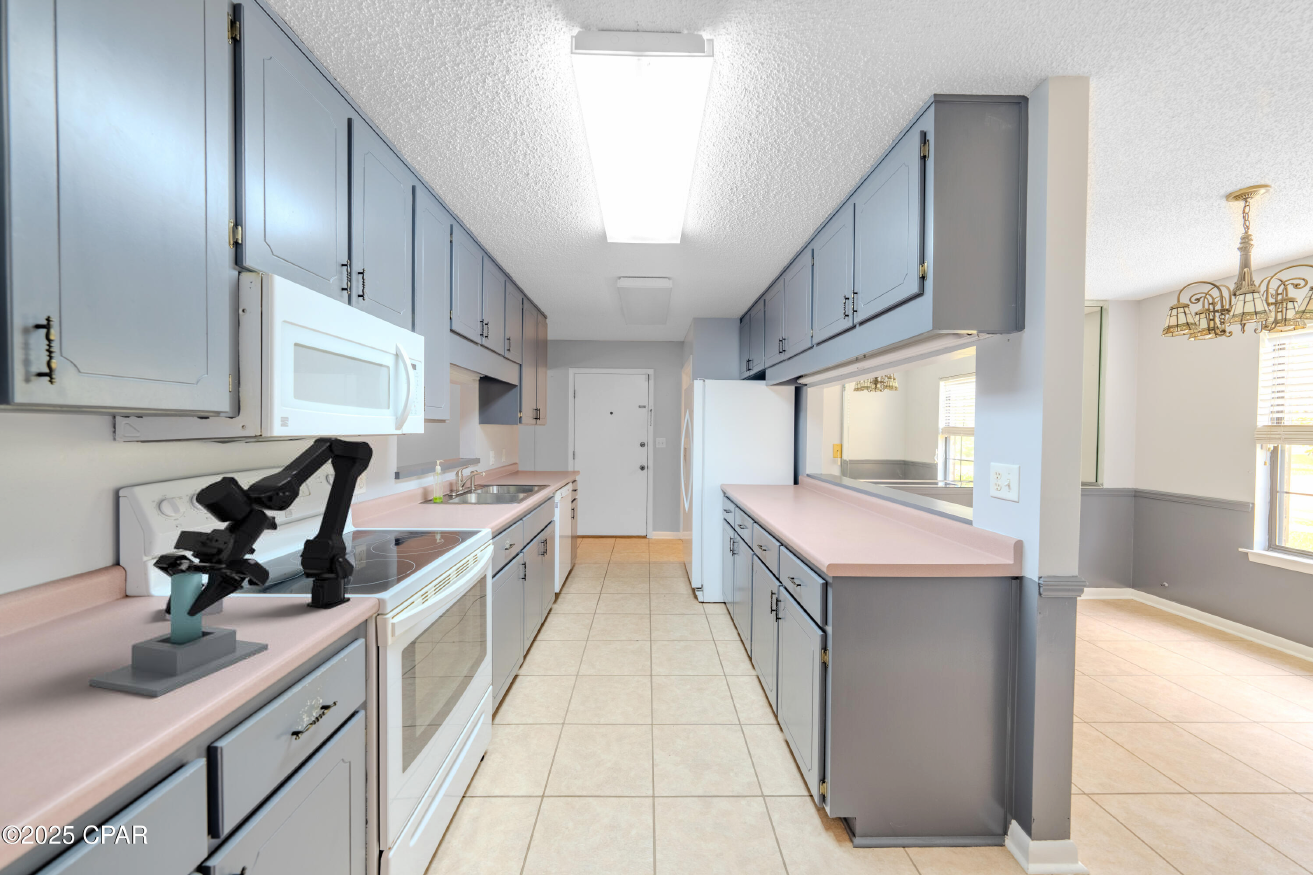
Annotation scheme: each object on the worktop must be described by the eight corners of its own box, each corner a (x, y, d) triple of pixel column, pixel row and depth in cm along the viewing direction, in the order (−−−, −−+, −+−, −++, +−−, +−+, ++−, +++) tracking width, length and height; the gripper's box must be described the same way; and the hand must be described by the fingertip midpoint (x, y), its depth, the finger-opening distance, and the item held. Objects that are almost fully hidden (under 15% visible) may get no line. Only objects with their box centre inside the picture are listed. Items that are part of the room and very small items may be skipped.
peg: (177, 646, 91) (178, 572, 91) (206, 643, 93) (206, 571, 93) (165, 656, 88) (165, 579, 88) (194, 653, 89) (195, 577, 89)
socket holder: (208, 641, 101) (208, 615, 100) (267, 649, 98) (268, 622, 97) (89, 685, 83) (89, 653, 83) (157, 696, 80) (157, 664, 80)
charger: (226, 595, 128) (222, 613, 116) (175, 602, 122) (165, 622, 110) (226, 576, 128) (222, 592, 116) (175, 582, 122) (165, 599, 110)
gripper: (164, 509, 95) (91, 588, 84) (256, 514, 93) (193, 595, 82) (206, 543, 103) (144, 619, 92) (292, 548, 101) (238, 626, 90)
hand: (178, 614), depth 89 cm, fingers closed on peg, 4 cm apart
